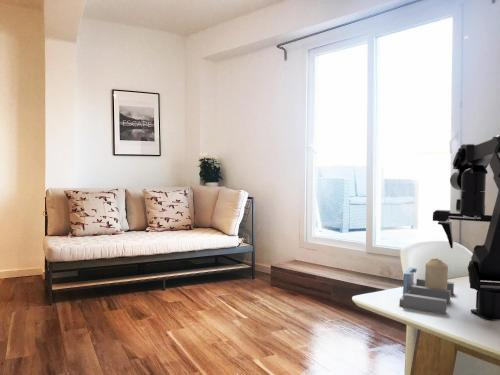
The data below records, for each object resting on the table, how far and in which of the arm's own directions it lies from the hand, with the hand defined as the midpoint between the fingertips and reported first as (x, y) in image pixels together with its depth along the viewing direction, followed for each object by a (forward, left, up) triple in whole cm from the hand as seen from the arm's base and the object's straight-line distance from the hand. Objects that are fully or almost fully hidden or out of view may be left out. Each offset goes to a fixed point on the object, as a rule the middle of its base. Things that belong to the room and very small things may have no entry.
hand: (470, 250), depth 114 cm
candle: (+3, +8, -13) cm, 16 cm away
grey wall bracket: (0, +12, -13) cm, 18 cm away
